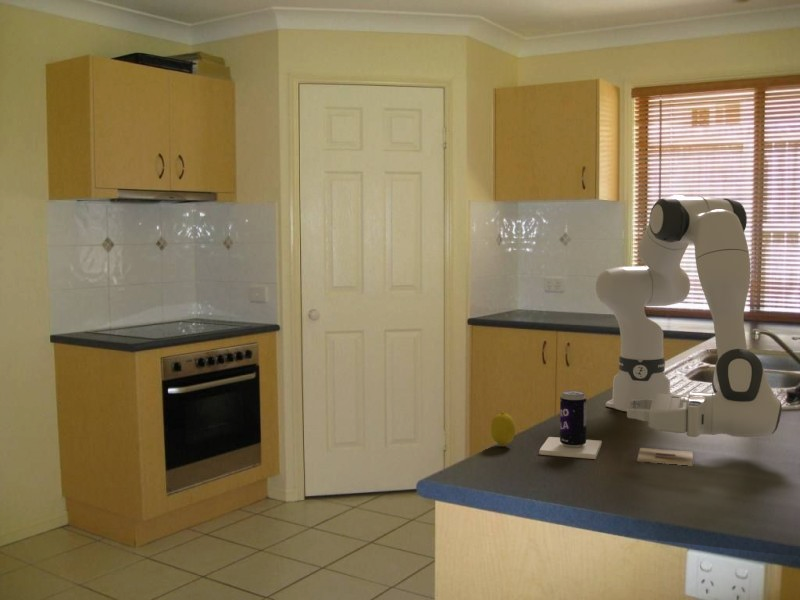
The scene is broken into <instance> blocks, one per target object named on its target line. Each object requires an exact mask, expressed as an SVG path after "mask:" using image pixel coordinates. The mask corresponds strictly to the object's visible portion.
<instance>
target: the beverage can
mask: <svg viewBox="0 0 800 600" xmlns="http://www.w3.org/2000/svg"><path fill="white" fill-rule="evenodd" d="M585 393H586V392H585V391H582V390H575V389H574V390H573V389H572V390H563V391H562V392H561V396H560V398H559V405H560V407H559V409H560V411H559V438H560V442H561V443H562V444H563V445H564V446H565V447H568V448H580V447H582V446H583V445H584V444H585V443H586V440H587V397H586V395H585Z"/></svg>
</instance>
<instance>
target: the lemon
mask: <svg viewBox="0 0 800 600" xmlns="http://www.w3.org/2000/svg"><path fill="white" fill-rule="evenodd" d="M490 435H491V437H492V439H493V440H494V441H495V443H497V444H499V445H500V446H501V447H504V448H505V446H507V445H508V444H510V443H512V441H513V440H514V438H515V435H516V423H515V421H514V418H512V416H511V415H509V414H507V413H506V412H505V411H501V412H500V413H498V414H496V415H495V416H494V417H493V419H492V421H491V425H490Z"/></svg>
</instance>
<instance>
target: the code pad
mask: <svg viewBox="0 0 800 600" xmlns="http://www.w3.org/2000/svg"><path fill="white" fill-rule="evenodd" d="M693 453H694V452H693V451H689V450H688V451H686V450H673V449H672V450H671V449H661V448H647V447H640V448H639V451H638V455H637V456H638V457H637V460H636V462H637V463H645V462H650V463H649V464H657V463H663V464H662V465H669V464H677V465H676V466H681V465H688V466H687V467H693V461H694V460H693V456H694V454H693ZM664 463H665V464H664Z"/></svg>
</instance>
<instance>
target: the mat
mask: <svg viewBox="0 0 800 600" xmlns="http://www.w3.org/2000/svg"><path fill="white" fill-rule="evenodd" d="M602 443H603V441H602V440H597V439H595V440H594V439H586V443H585V444H584V445H583V446H582V447H580V448H568V447H565V446H564V445H563V444H562V443H561V442H560V437H557V436H556V437H555V436H548V437H547V439H546V440H545V442H544V443H543V444H542V445H541V447H540V449H539V451H538V453H539V455H542V456H543V455H544V456H555V457H568V458H579V459H580V458H581V459H589V460H590V459H591V460H592V459H593V460H596V459H597V457H598V454H599V452H600V450H601V448H602Z"/></svg>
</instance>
